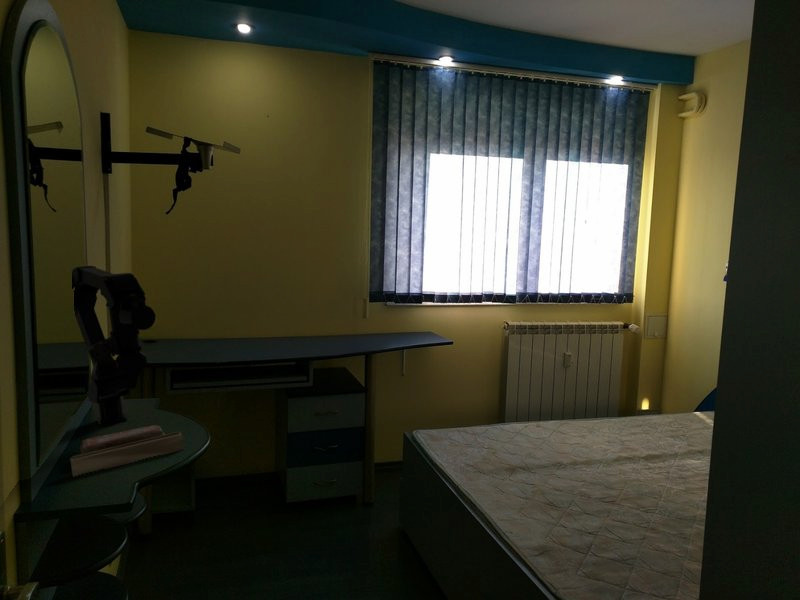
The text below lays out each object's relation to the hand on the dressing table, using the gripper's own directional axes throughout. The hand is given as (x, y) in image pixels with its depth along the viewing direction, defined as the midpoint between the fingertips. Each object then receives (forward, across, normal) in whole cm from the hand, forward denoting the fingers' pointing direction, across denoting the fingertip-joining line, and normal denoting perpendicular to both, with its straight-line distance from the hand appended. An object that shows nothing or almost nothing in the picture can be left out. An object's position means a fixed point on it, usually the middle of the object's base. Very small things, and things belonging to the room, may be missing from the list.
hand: (132, 388), depth 143 cm
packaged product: (+12, +12, -4) cm, 17 cm away
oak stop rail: (+11, +19, -4) cm, 22 cm away
